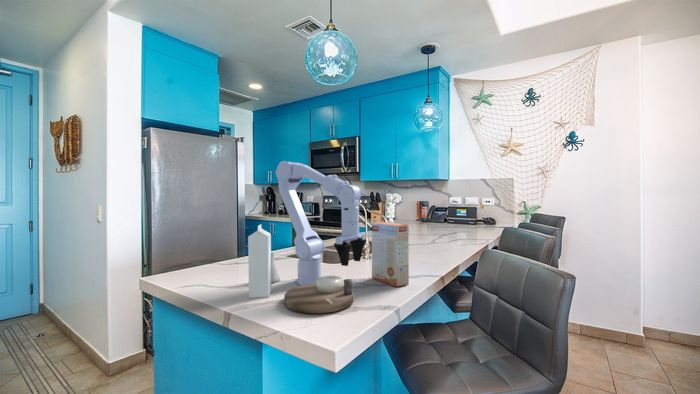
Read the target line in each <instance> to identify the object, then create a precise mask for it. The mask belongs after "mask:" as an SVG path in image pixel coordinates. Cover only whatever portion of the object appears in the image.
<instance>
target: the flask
mask: <svg viewBox="0 0 700 394" xmlns="http://www.w3.org/2000/svg"><path fill="white" fill-rule="evenodd" d="M274 256H275V253H273V252H271V284H274V283H277V282H279V281H280V280H281V278H280V276H279V275H280V274H279V272H278V270H277V267H276V264H275V261H274Z"/></svg>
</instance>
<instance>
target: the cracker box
mask: <svg viewBox="0 0 700 394" xmlns="http://www.w3.org/2000/svg"><path fill="white" fill-rule="evenodd" d="M409 258H410V257H409V224H403V223H397V222H396V223H395V222H388V221H376V222H372V223H371V278H372V279H373V280H376V281H379V282H382V283H385V284H388V285H390V286H393V287H395V288H396V287H397V288H399V287H403V286H407V285H409V280H410V279H409V277H410V275H409V274H410V273H409V265H410V264H409Z"/></svg>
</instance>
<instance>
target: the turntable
mask: <svg viewBox="0 0 700 394" xmlns="http://www.w3.org/2000/svg"><path fill="white" fill-rule="evenodd" d="M283 298H284V306H285V307H286V308H287V309H289V310H291V311H295V312H297V313H303V314H325V313H332V312H337V311H341V310H343V309H347V308H348V307H349V306H351V305H352V304H353V303H354V291H353V279H352V278H345V279H344V280H343V289H342V290H341V291H339V292H336V293H321V292H318V291H317V290H316V284H309V285H303V286H301V285H299V286H296V287H293V288H290V289H289V290H287V291H285V293H284V297H283Z"/></svg>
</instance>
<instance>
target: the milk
mask: <svg viewBox="0 0 700 394" xmlns="http://www.w3.org/2000/svg"><path fill="white" fill-rule="evenodd" d="M247 241H248V242H247V246H248V247H247V248H248V249H247V251H248V298H249V299H252V298H253V299H256V298H258V299H259V298H269V297H270V296H271V293H272V283H271V253H272V235H271V233H270V232H268V231H267V230H265V229H263V228H262V223H261V224H259V225H257V230H256V231H254V232H253V233H252V234H250V235H249V236H247Z"/></svg>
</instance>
